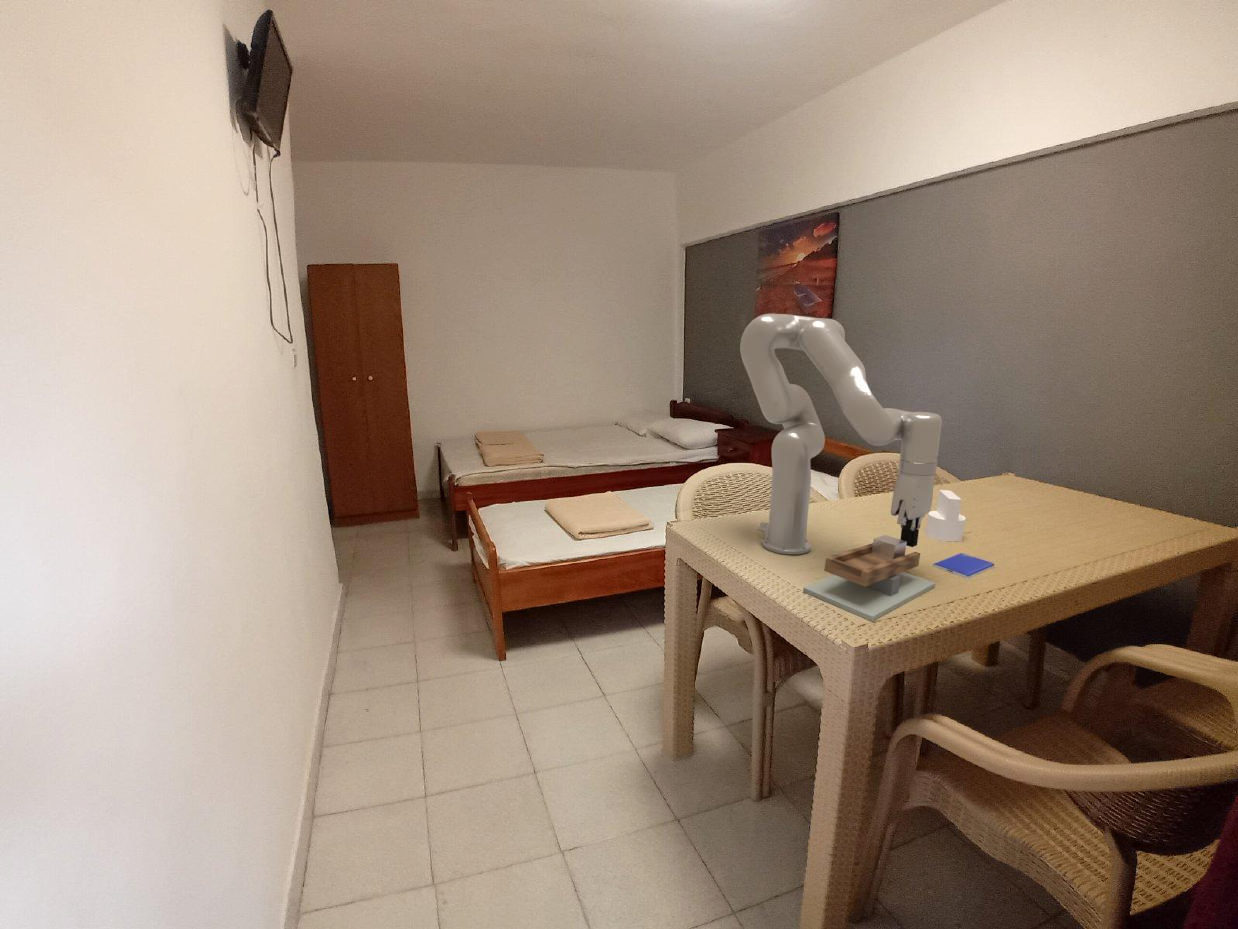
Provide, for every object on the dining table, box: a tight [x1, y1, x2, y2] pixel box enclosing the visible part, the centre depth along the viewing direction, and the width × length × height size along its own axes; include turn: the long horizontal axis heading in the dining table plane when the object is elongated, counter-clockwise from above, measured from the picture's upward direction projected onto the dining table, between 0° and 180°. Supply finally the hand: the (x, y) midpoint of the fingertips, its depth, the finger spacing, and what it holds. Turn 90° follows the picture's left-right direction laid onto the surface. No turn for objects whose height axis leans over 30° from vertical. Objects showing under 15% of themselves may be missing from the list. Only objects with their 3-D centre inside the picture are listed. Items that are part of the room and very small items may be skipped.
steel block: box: [871, 534, 907, 561], centre depth 132 cm, size 5×5×4 cm
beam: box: [824, 542, 921, 586], centre depth 128 cm, size 22×9×3 cm, turn 127°
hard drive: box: [932, 552, 995, 579], centre depth 143 cm, size 2×8×12 cm
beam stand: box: [802, 571, 936, 622], centre depth 129 cm, size 26×16×5 cm, turn 127°
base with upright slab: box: [925, 489, 966, 543], centre depth 162 cm, size 9×9×12 cm
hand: (908, 544), depth 136 cm, fingers closed
